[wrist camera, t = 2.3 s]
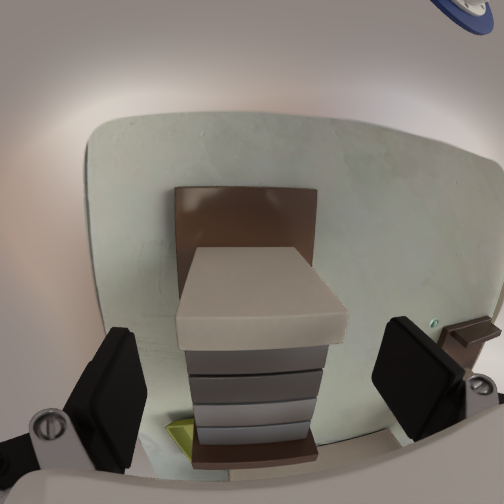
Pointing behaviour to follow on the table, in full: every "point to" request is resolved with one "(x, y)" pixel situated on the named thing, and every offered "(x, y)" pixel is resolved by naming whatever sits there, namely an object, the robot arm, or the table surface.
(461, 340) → the dark brown rack
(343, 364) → the table surface
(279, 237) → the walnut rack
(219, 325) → the cream book
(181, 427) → the green tray
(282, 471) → the box
